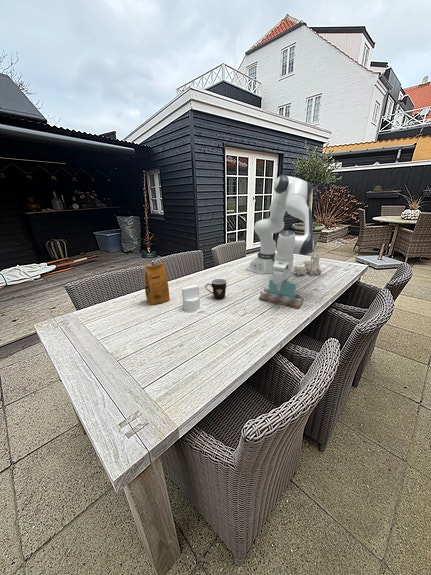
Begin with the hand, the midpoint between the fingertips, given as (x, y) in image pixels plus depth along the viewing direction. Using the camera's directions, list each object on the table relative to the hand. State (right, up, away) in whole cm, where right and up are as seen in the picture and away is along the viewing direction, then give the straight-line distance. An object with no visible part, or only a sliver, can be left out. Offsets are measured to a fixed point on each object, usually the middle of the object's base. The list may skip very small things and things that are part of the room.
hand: (281, 287), depth 124 cm
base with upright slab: (-49, -11, -1) cm, 50 cm away
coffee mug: (-35, -6, +10) cm, 37 cm away
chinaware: (+33, +10, +45) cm, 57 cm away
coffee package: (-69, -8, +7) cm, 70 cm away
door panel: (0, -6, +2) cm, 6 cm away
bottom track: (0, -8, +3) cm, 8 cm away
